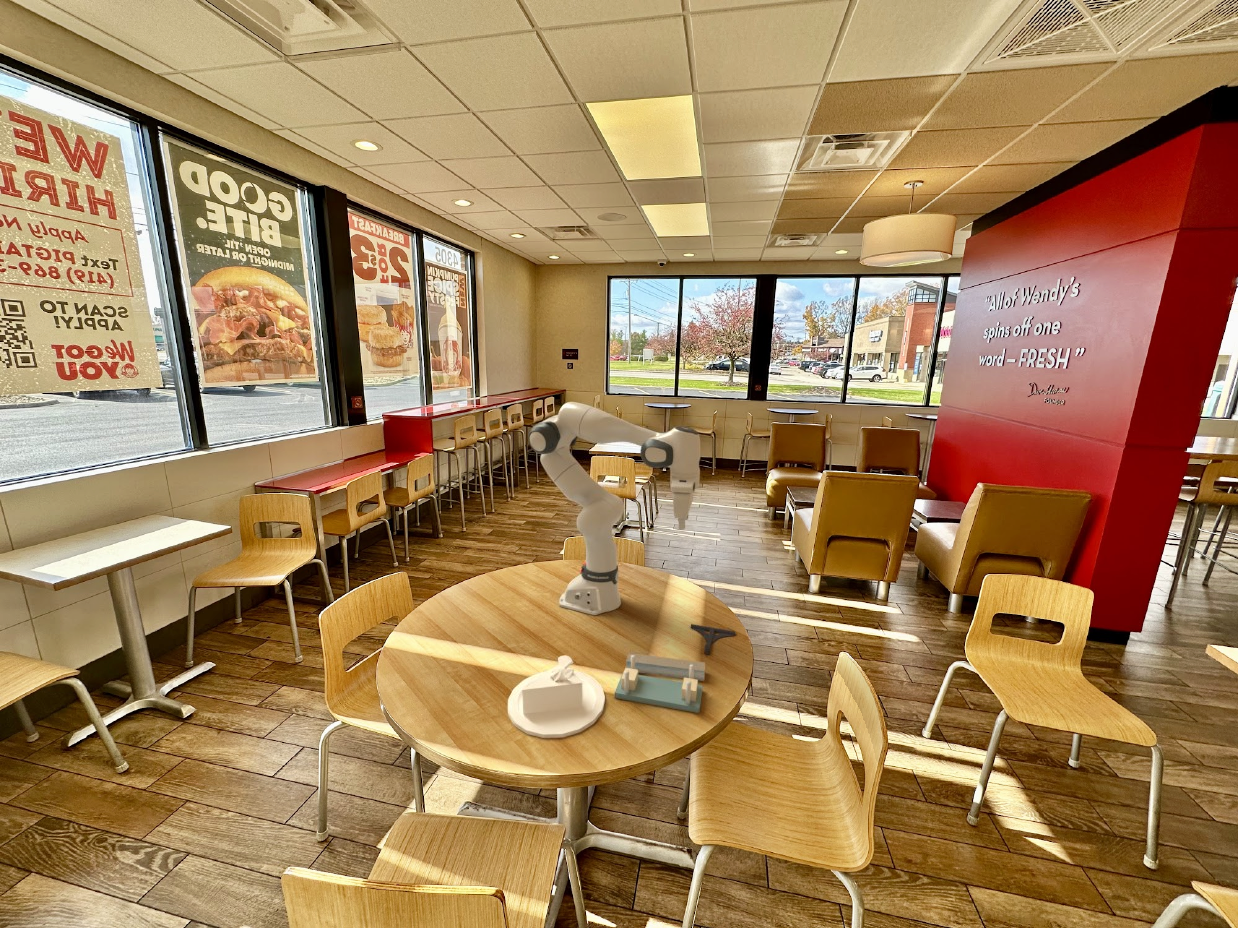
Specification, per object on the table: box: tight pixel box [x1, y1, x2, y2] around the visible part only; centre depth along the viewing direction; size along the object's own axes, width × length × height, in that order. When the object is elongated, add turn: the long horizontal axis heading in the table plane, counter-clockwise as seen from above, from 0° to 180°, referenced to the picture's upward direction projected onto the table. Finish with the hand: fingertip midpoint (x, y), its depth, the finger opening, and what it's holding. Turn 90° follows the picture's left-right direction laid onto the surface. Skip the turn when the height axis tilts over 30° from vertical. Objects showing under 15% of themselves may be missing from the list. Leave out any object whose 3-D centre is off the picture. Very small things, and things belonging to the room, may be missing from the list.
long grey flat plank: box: [625, 653, 706, 682], centre depth 140 cm, size 22×4×4 cm, turn 79°
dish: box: [507, 655, 606, 739], centre depth 127 cm, size 25×25×11 cm
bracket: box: [689, 623, 736, 655], centre depth 156 cm, size 14×15×3 cm
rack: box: [614, 655, 704, 714], centre depth 130 cm, size 22×9×8 cm, turn 75°
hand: (683, 523), depth 153 cm, fingers open, 8 cm apart
